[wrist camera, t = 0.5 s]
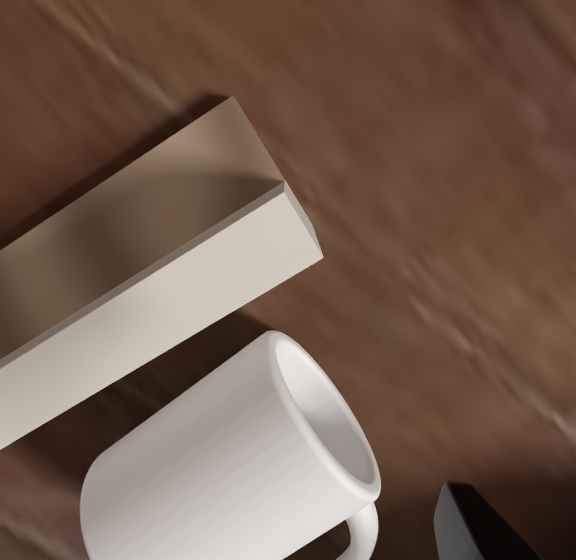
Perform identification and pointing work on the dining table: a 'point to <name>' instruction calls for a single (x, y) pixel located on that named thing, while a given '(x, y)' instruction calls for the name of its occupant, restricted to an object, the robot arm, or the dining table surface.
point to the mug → (237, 468)
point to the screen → (144, 265)
